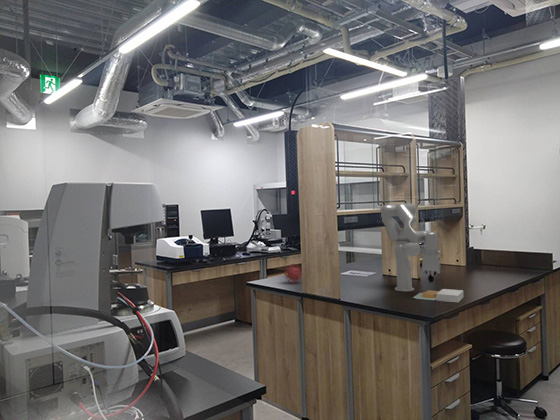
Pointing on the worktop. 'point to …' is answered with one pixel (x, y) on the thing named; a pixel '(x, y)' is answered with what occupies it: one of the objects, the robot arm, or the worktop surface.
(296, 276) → the virus model
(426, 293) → the slide box
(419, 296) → the mat
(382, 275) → the worktop surface
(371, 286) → the worktop surface
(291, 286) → the worktop surface
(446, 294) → the platform
